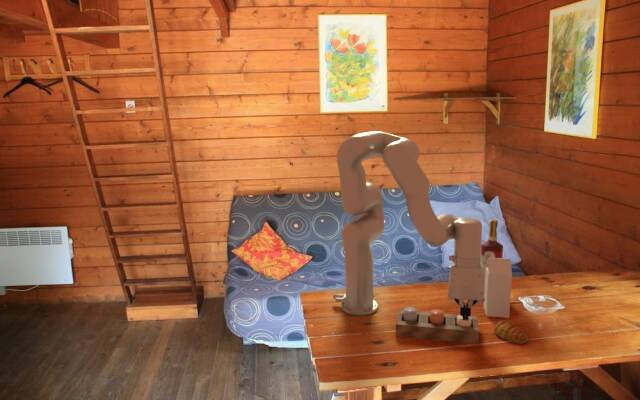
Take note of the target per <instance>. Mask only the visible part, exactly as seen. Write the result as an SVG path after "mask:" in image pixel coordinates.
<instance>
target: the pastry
mask: <svg viewBox="0 0 640 400" xmlns="http://www.w3.org/2000/svg"><path fill="white" fill-rule="evenodd" d="M493 332H494V333H495V335H496V336H497V337H500V338H501V339H502V340H505V341H508V342H510V343H514V344H520V345H521V344H524V343H526V342H527V341H528V338H529V337H528V335H527V334H526V332H525V331H524V330H522V328H521V327H518V325H517V324H513V322H510V321H508V322H507V321H506V320H499V322H498V323H496V325H495V327H494V329H493Z"/></svg>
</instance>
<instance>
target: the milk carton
mask: <svg viewBox="0 0 640 400" xmlns="http://www.w3.org/2000/svg"><path fill="white" fill-rule="evenodd" d="M512 278H513V271H512V258H503V257H502V258H488V261H487V264H486V270H485V294H484V298H485V301H484V302H483V310H484V312H485V315H486V317H493V318H495V317H496V318H497V317H498V318H506V319H507V318H510V313H511V312H510V311H511V310H510V309H511V298H512V297H511V295H512V280H513V279H512Z"/></svg>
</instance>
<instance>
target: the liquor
mask: <svg viewBox="0 0 640 400" xmlns="http://www.w3.org/2000/svg"><path fill="white" fill-rule="evenodd" d="M498 222H499V221H498V220H497V219H489V224H488V226H489V231H488V239H487V240H486V241H484V242H482V243H481V264H482V265H483V268H484V277H485V270H486V264H487V261H488V258H502V259H503V253H504V252H503V251H504V245H502V244H501V242H499V241H498V236H497V235H498V234H497V228H498V225H499V224H498Z"/></svg>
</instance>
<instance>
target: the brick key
mask: <svg viewBox="0 0 640 400" xmlns="http://www.w3.org/2000/svg"><path fill="white" fill-rule="evenodd" d="M429 312H430V324H441V325H444V313H445V311H443V310H441V309H436V308H435V309H431V310H430V311H429Z"/></svg>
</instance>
